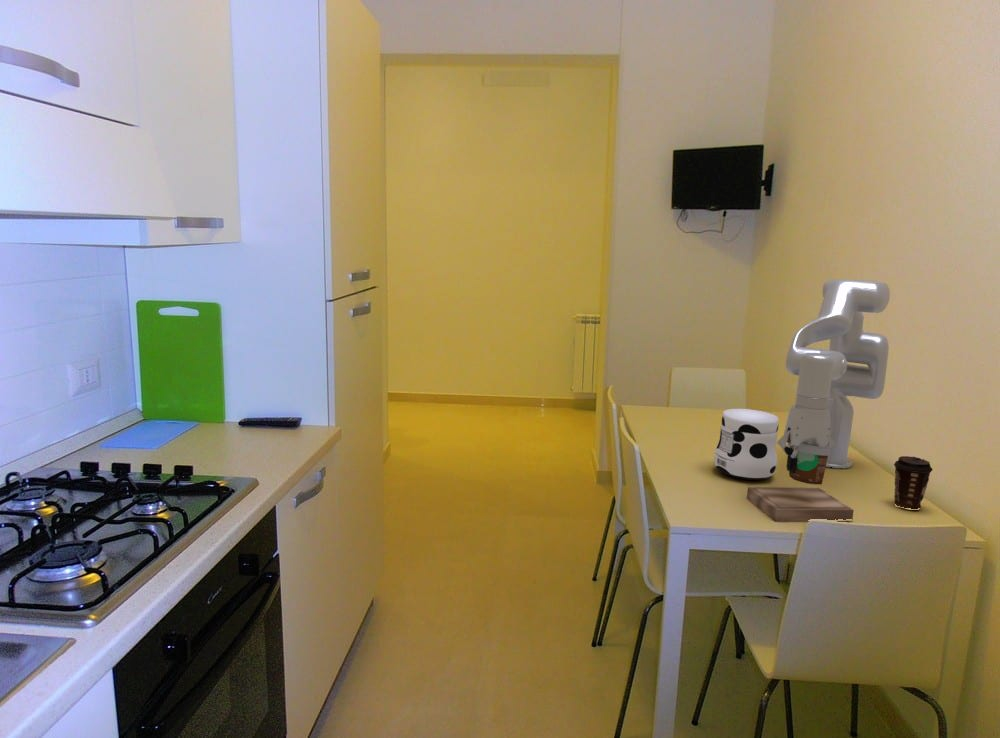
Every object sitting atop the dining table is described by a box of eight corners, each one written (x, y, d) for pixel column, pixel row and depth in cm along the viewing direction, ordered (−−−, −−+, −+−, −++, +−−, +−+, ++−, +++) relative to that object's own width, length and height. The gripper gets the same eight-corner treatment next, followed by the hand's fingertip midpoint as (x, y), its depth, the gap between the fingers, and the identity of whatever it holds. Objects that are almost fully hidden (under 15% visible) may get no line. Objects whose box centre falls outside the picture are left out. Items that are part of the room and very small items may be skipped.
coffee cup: (914, 501, 197) (921, 455, 195) (933, 513, 189) (941, 465, 186) (882, 500, 197) (889, 454, 194) (900, 512, 189) (907, 464, 186)
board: (746, 497, 193) (747, 486, 193) (817, 498, 196) (818, 487, 195) (775, 521, 178) (777, 509, 177) (852, 521, 180) (853, 509, 180)
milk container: (779, 473, 216) (787, 414, 213) (768, 489, 201) (776, 426, 198) (721, 461, 225) (727, 404, 221) (706, 476, 210) (712, 415, 206)
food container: (773, 471, 190) (778, 434, 188) (793, 470, 192) (798, 433, 190) (804, 487, 179) (809, 448, 177) (826, 486, 180) (831, 447, 178)
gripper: (835, 399, 186) (825, 467, 190) (772, 398, 184) (763, 466, 188) (852, 406, 179) (842, 477, 182) (786, 405, 177) (777, 476, 180)
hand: (802, 471), depth 185 cm, fingers closed on food container, 5 cm apart
